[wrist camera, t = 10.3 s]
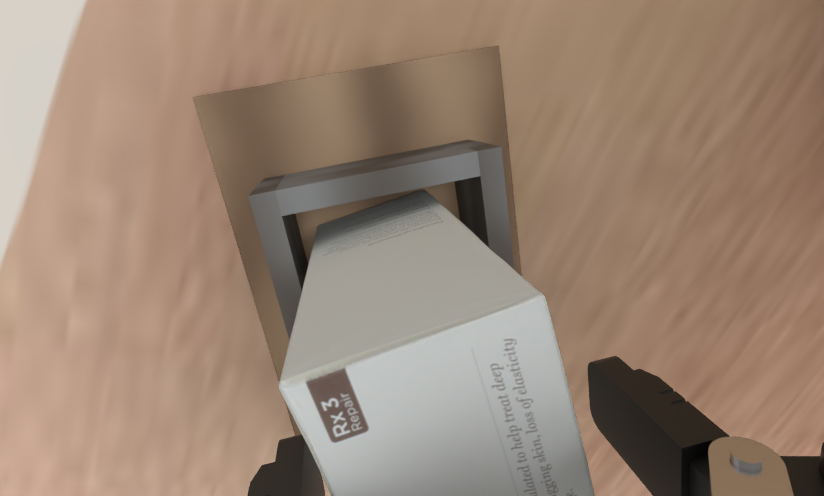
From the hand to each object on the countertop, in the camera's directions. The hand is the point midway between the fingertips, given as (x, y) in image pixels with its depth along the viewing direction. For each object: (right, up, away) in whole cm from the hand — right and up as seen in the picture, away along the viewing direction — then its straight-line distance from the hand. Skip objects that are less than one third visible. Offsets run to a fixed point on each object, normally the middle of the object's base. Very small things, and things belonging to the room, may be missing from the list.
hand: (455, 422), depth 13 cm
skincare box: (-2, +4, +11) cm, 12 cm away
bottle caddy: (-2, +4, +12) cm, 13 cm away
